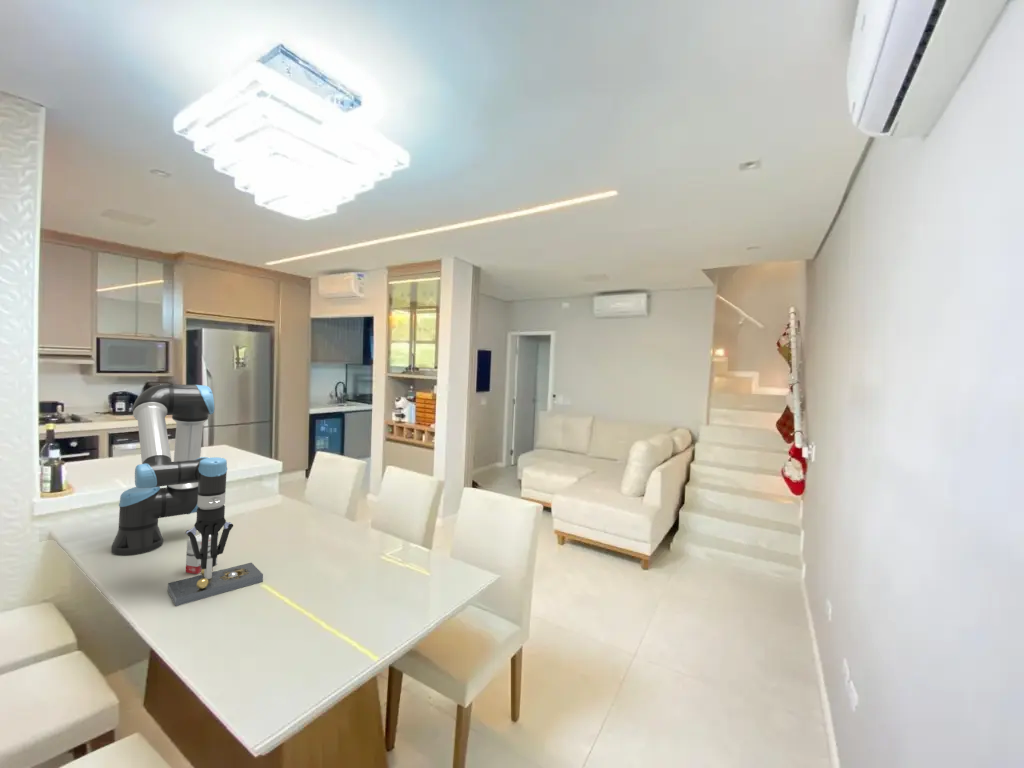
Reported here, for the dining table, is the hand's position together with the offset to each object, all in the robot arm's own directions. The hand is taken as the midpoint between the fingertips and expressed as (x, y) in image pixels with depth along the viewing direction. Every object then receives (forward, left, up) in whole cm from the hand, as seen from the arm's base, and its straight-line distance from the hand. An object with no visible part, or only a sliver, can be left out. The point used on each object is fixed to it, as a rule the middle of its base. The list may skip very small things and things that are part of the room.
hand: (207, 577), depth 143 cm
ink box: (-17, +2, -4) cm, 17 cm away
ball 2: (+4, -2, 0) cm, 5 cm away
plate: (0, +3, -4) cm, 5 cm away
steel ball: (0, +7, -2) cm, 8 cm away
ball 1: (-4, +1, 0) cm, 4 cm away
